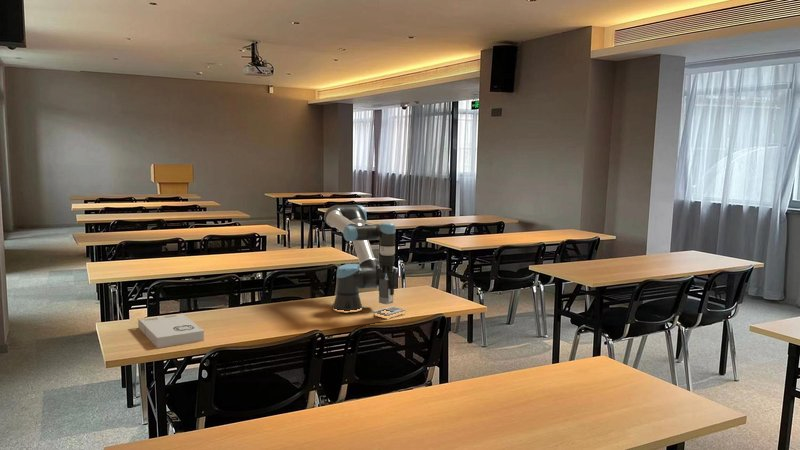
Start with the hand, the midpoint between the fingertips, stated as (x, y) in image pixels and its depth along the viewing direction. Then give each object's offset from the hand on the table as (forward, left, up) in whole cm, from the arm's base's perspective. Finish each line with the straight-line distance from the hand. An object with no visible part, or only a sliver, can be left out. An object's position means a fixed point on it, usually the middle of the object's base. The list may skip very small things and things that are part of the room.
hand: (386, 300), depth 290 cm
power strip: (0, +3, -8) cm, 9 cm away
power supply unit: (-47, -88, -9) cm, 101 cm away
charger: (0, 0, -1) cm, 1 cm away
